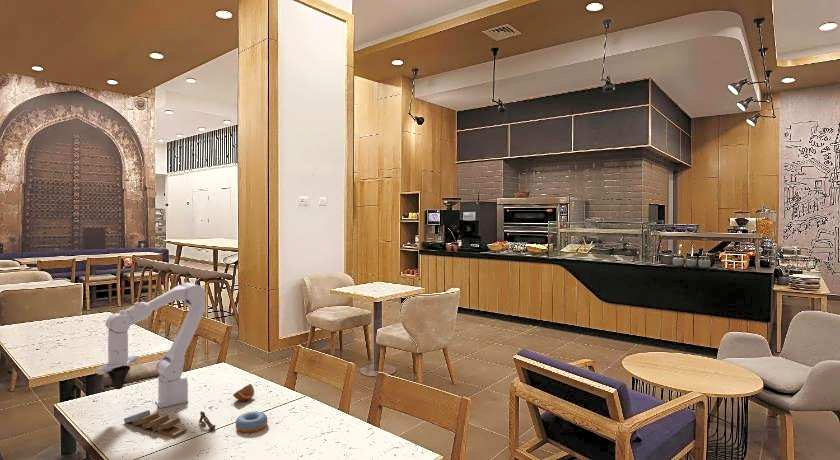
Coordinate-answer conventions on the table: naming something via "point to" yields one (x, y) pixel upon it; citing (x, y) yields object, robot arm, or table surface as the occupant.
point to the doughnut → (251, 422)
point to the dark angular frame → (206, 421)
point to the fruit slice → (245, 393)
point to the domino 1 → (137, 416)
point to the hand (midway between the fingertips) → (118, 388)
